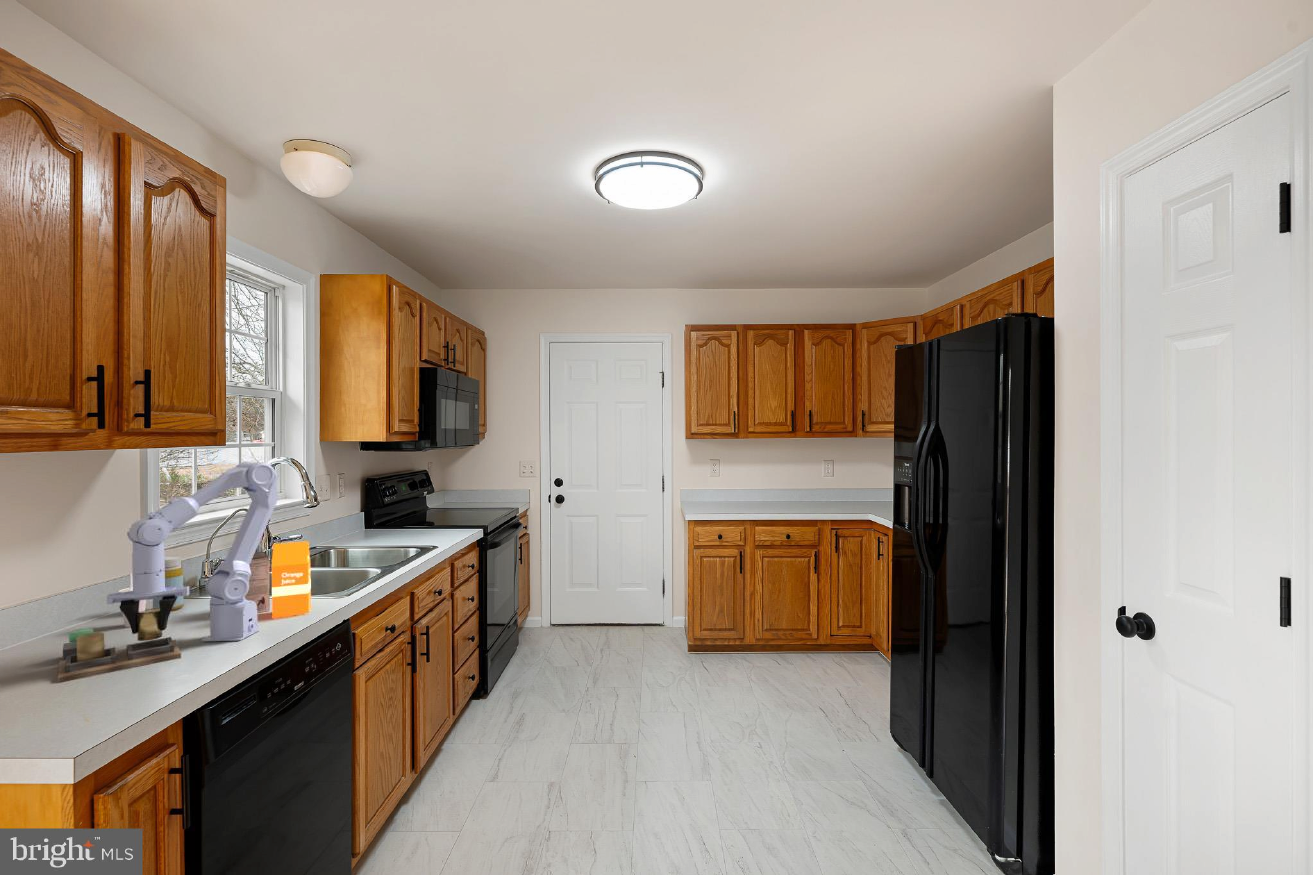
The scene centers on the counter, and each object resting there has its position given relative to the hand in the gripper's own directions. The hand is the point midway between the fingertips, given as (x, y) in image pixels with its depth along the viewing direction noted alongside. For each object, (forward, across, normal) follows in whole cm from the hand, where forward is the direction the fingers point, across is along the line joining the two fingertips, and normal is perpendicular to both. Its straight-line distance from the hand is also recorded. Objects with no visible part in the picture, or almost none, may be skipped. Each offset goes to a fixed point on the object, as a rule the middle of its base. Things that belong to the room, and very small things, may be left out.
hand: (149, 630), depth 141 cm
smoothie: (+6, +10, -32) cm, 34 cm away
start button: (+2, +14, -7) cm, 16 cm away
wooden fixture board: (+6, +5, +1) cm, 8 cm away
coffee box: (+6, -16, -33) cm, 37 cm away
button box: (+6, +14, -7) cm, 17 cm away
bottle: (+6, +6, -46) cm, 47 cm away
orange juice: (+6, -26, -24) cm, 36 cm away
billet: (+2, 0, 0) cm, 2 cm away
